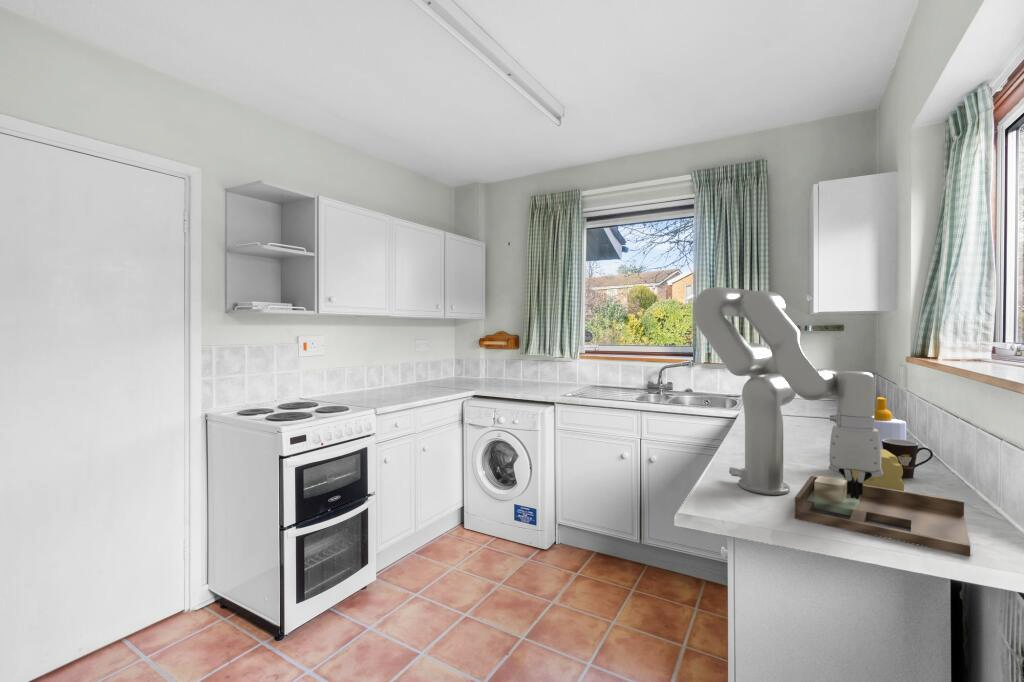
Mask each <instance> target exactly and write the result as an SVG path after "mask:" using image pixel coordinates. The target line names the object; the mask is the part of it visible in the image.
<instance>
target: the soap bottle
mask: <svg viewBox="0 0 1024 682" xmlns="http://www.w3.org/2000/svg"><path fill="white" fill-rule="evenodd" d="M874 428H875V429H877V430H878V433H879V437H880V444H881V449H883V445H882V439H901V440H907V422H906V421H904V420H902V419H897V418H893V414H892V412H891V411H890V410H888V409H887V398H886V397H885V398H884V397H883V396H882V397H880V396H878V397H877V398H876V408H874Z"/></svg>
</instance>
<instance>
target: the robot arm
mask: <svg viewBox="0 0 1024 682" xmlns="http://www.w3.org/2000/svg"><path fill="white" fill-rule="evenodd" d="M785 302H786V301H785V300H784V298H783V297H782V296H781V295H780V294H778V293H776V292H773V291H767V290H766V291H765V290H750V289H741V288H731V287H723V286H712V287H708V288H705V289H703V290H702V291H700V293H699V294H698V295H697V296H696V298H695V300H694V303H693V309H692V310H693V312H692V313H693V319H694V322H695V324H696V327H697V328H698V329H699V331H700V332H701V334H702V335H703V336H704V338H705V339H706V340H707V342H708V343H709V345H710V346H711V347H712V349H713V351H714V352H715V354H716V355H717V356H718V357H719V359H720V360H721V362H722V363H723V364H724V366H725V367H726V369H727V371H729V372H730V373H731V374H732V375H733V376H736V377H746V376H747V377H748V376H749V379H748V380H746V382H745V383H744V385H743V386H742V389H741V390H742V391H741V399H742V405H743V411H744V412H743V413H744V468H737V467H729V471H728V472H729V475H731V477H739V478H740V479H739V480H738V485H739V486H740V488H742V489H744V490H746V491H748V492H752V493H756V494H761V495H762V494H763V495H771V496H780V495H786V494H788V493H789V492H790V488H791V486H790V485H789V484H788V483H785V482H784V419H783V414H782V410H781V407H782V406H786V405H787V404H790V403H791V402H792V401H793V400H794V399H795V398H796V396H797V395H798V396H799V397H801V398H802V399H804V400H807V401H818V400H819V401H820V400H822V399H828V398H836V413H835V414H833V415H832V414H831V415H829V421H831V422H834V423H835V425H833V426H832V428H831V434H830V442H829V443H830V444H829V466H828V469H829V470H832V471H834V472H838V473H839V474H841V475H842V476H843V478H844V477H845V478H846V480H847V481H848V493H851V498H854V497H855V498H856V499H859V497H860V495H863V482H864V481H865V480H867V479H868V478H870V477H881V476H882V475H883V472H882V469H881V461H882V459H881V444H880V437H879V433H878V430H877V429H875V428H874V410H875V400H876V399H875V397H876V395H875V388H876V387H875V377H874V375H873V374H872V373H871V372H868V371H861V370H860V371H859V370H858V371H857V370H844V371H842V370H837V369H832V368H831V369H830V368H816V367H815V366H813V364H812V363H811V362H810V360H809V359H808V358H807V356H806V355H805V354H804V352H803V350H802V348H801V345H800V338H801V331H800V329H799V328H798V327H797V325H796V324H795V323H794V322H793V321H792V320H791V319H790V317H789V316H788V315H787V314H786V303H785ZM726 316H727V317H738V318H744V319H746V320H747V322H748V323H749V324H750V325H751V326H752V327H753V329H754V330H755V331H756V333H757V334H758V335H759V336H760V337H761V339H762V340H763V342H764V343H765V344H766V345H767V347H766V346H765V345H763V344H761V343H758V342H748V341H747V340H746V339H745V338H744V337H743V335H741V333H740V331H739V330H738V329H737V327H736V326H735V325H734V324H733V323H732V322H730V320H729V319H727V318H726ZM796 394H797V395H796ZM852 470H856V471H859V475H858V478H857V479H856V482H855V479H854V477H853V474H852Z"/></svg>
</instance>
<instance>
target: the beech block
mask: <svg viewBox="0 0 1024 682" xmlns="http://www.w3.org/2000/svg"><path fill="white" fill-rule="evenodd" d="M817 477H818V478H817V479H816V480H815V481H814V497H816V498H822V499H827V500H832V501H837V502H842V503H843V502H844V500H845V498H846V496H847V480H844V479H839V478H834V477H828V476H823V475H818V476H817Z"/></svg>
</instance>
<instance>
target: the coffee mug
mask: <svg viewBox="0 0 1024 682" xmlns="http://www.w3.org/2000/svg"><path fill="white" fill-rule="evenodd" d="M882 445H883V449H884V450H887V451H889V452H890V453H892V454H893V455H895V456H896V457H897V459H898V462H899V464H900V465H901V466H902V469H903V475H902V479H913V478H914V474H915V469H916V468H917V467H920V466H922V465H924V464H926V463H928V462H929V461H931V459H932V458H933V456H934V453H933V450H932V449H930V448H927V447H925V446H922V447H919V443H918V442H915V441H912V440H908V439H906V440H901V439H882ZM923 450H925V451H928V452H929V453H930V455H929V457H927V458H926V459H925V460H922V461H920V462H918V463H916V462H917V458H918V457H917V455H918V454H919V452H920V451H923Z"/></svg>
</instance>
